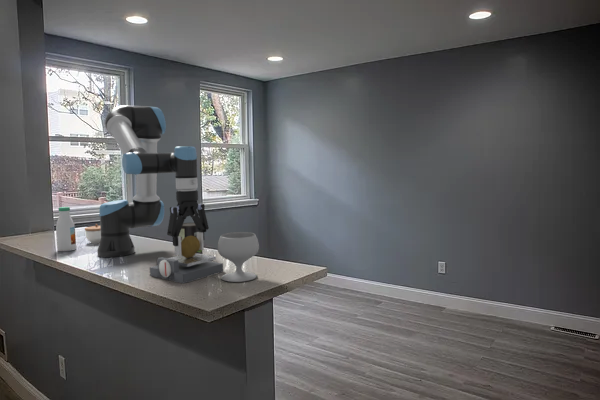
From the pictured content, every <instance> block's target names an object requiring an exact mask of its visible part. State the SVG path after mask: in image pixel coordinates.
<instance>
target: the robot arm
mask: <svg viewBox="0 0 600 400" xmlns="http://www.w3.org/2000/svg"><path fill="white" fill-rule="evenodd" d="M104 125H105V128H106V131H107V132H108V133H109V135H110V136H112V137H113V138H114V140H115V141H116V144H117V146H118V147H119V148H120V150H121V153H122V154H123V155H122V161H121V165H122V168H123V172H124V173H125V174H127V175H136V178H135V179H136V182H135V183H136V185H135V186H136V189H135V190H136V194H135V195H134V196H133V197H132V202H129V200H127V199H118V200H116V199H115V200H112V201H106V202H104V203H102V204H100V206H99V209H98V211H99V214H98V216H99V226H100V229H101V240H100V243H98V247H97V251H96V252H97V256H98V257H101V258H116V257H125V256H129V255H132V254H134V253H135V251H136V250H135V248H136V247H135V245H134V242H133V240H132V238H131V233H130V230H131V229H138V228H139V229H140V228H151V227H156V226H157V227H158V226H160V225H161V223H163V220H164V217H165V204H164V202H163V201H162V200H161V197H160V196H159V195H157V186H158V185H157V179H158V175H157V174H175V176H174V177H175V190H176V192H175V194H176V195H175V196H176V197H175V198H176V199H175V200H176V202H177V205H176V206H170V207H169V213H170V214H169V219H168V226H167V233H166V234H167V236H170V237H171V238H172V246H174V255H175V256H178V255H182V253H181V237H179V234H180V231H181V228H182V225H183V223H185V221H186V219H187V217H190V218H192V221H193V223H195V225H196V227H197V229H198V231H199V232H197V238H198V240H199V242H200V249H199V250H202V251H204V248H205V247H204V241H205V233H206V232H207V231H208V230H209V223H208V219H207V215H206V212H205V206H206V205H205V203H198V201H199V191H198V190H197V189H198V187H199V185H198V154H197V149H196V147H195V146H192V145H191V146H189V145H188V146H187V145H186V146H184V145H183V146H179V145H178V146H175V147H174V152H158V142H159V141H160V140H162V139H161V138H162V137H161V136H162V135H164V134H165V133H166V129H167V123H166V119H165V115H164V112H163V110H162V109H161V108H159V107H157V106H148V105H129V104H126V105H125V104H123V105H119V106H118V105H117V106H116V107H114V108H112V109H111V110H110V111H109V112H108V113H107V114H106V117H105V121H104Z"/></svg>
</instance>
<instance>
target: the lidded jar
mask: <svg viewBox="0 0 600 400" xmlns="http://www.w3.org/2000/svg"><path fill="white" fill-rule="evenodd" d="M84 231H85V233H84V234H85V236H86V237H85V238H86V239H87V241H88V242H89V243H90V244H99V243H100V240H101V229H100V225H98V223H95V225H93V226H87V227H85V228H84Z"/></svg>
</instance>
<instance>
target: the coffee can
mask: <svg viewBox="0 0 600 400" xmlns="http://www.w3.org/2000/svg"><path fill="white" fill-rule="evenodd" d="M197 232H199V231H198V229H197V227H196V225H195V223H194V222H184V223H183V225H182V228H181V231H180V234H179V237H181V242H182V240H183V239H184V238H185V237H187V236H195V237H196V238H197ZM196 253H198V254H203V250H198V251H197V252H196ZM177 256H179V255H177Z"/></svg>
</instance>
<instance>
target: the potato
mask: <svg viewBox="0 0 600 400" xmlns="http://www.w3.org/2000/svg"><path fill="white" fill-rule="evenodd" d="M199 249H200V242H199V240H198V238H196V237H195V236H187V237H185V238H184V239H183V240H182V242H181V253H182V256H184V257H185V258H191V257H193V256H194V255H195V254H196V252H197V251H198V250H199Z"/></svg>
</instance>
